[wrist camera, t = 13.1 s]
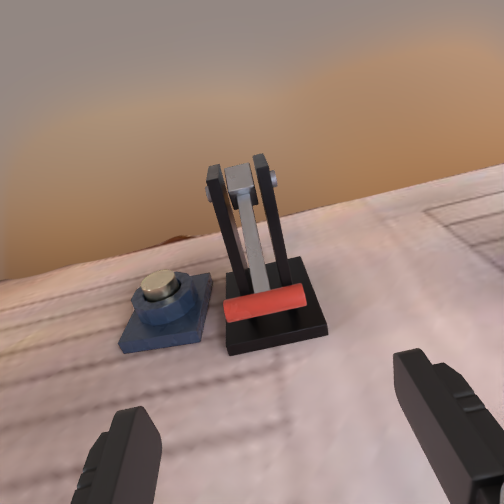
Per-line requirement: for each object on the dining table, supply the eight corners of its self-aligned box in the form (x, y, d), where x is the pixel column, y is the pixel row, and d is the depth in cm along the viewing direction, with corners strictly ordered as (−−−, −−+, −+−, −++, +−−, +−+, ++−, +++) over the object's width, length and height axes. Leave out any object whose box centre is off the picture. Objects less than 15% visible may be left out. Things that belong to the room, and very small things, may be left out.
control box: (200, 342, 32) (189, 314, 31) (123, 354, 34) (108, 327, 32) (213, 282, 41) (204, 258, 39) (151, 293, 42) (141, 270, 41)
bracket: (328, 335, 30) (304, 173, 22) (229, 356, 30) (174, 204, 23) (302, 265, 40) (279, 139, 33) (228, 281, 41) (190, 161, 33)
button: (175, 300, 34) (169, 286, 33) (142, 305, 35) (135, 292, 34) (182, 280, 37) (177, 266, 36) (152, 285, 38) (146, 272, 37)
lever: (307, 311, 23) (306, 297, 21) (231, 328, 24) (223, 315, 22) (270, 177, 30) (267, 157, 28) (213, 191, 31) (205, 172, 29)
